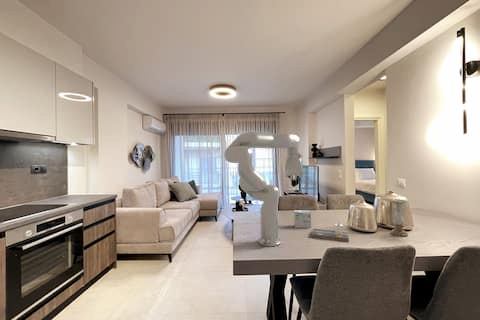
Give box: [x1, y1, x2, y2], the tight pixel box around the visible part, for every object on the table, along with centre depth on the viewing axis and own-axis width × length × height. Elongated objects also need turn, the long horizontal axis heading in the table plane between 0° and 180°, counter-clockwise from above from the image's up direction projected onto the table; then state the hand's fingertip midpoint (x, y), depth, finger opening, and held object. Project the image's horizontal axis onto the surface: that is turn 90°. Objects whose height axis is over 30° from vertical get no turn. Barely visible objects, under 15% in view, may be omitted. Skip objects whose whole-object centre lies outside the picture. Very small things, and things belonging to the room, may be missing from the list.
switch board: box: [310, 227, 350, 243], centre depth 134 cm, size 12×20×3 cm, turn 66°
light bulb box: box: [293, 209, 312, 229], centre depth 155 cm, size 11×7×11 cm, turn 84°
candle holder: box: [389, 199, 409, 237], centre depth 137 cm, size 9×9×20 cm
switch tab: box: [334, 222, 344, 234], centre depth 132 cm, size 4×4×6 cm
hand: (293, 186), depth 140 cm, fingers closed
